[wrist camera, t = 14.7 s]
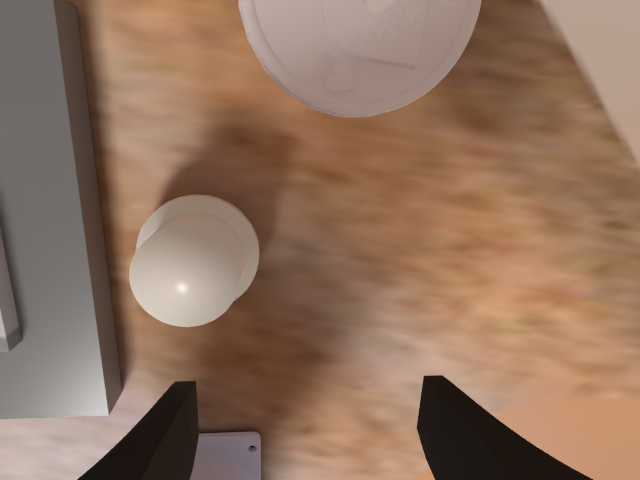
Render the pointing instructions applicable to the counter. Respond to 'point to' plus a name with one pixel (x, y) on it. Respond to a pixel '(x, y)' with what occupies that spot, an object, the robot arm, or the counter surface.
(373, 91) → the smoothie
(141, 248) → the plug
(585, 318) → the counter surface
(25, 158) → the socket block
